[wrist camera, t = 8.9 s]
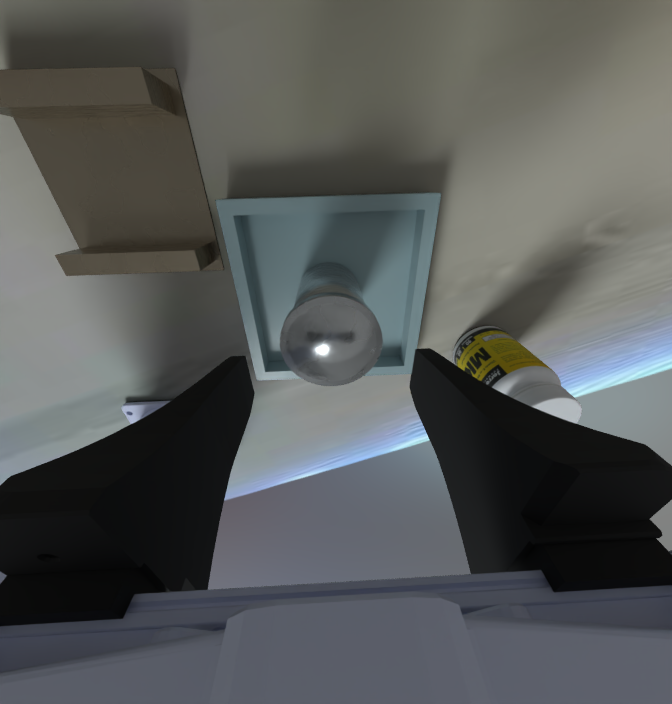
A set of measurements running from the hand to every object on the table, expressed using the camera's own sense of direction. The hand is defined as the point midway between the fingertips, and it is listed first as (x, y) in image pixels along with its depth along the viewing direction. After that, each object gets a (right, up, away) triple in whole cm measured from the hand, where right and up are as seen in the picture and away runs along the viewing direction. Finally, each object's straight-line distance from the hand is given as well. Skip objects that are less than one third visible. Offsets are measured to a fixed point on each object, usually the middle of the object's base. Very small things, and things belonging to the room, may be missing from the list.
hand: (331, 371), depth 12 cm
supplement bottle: (+12, +1, +12) cm, 17 cm away
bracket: (-12, +11, +4) cm, 17 cm away
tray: (0, +5, +8) cm, 10 cm away
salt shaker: (0, +5, +8) cm, 9 cm away
